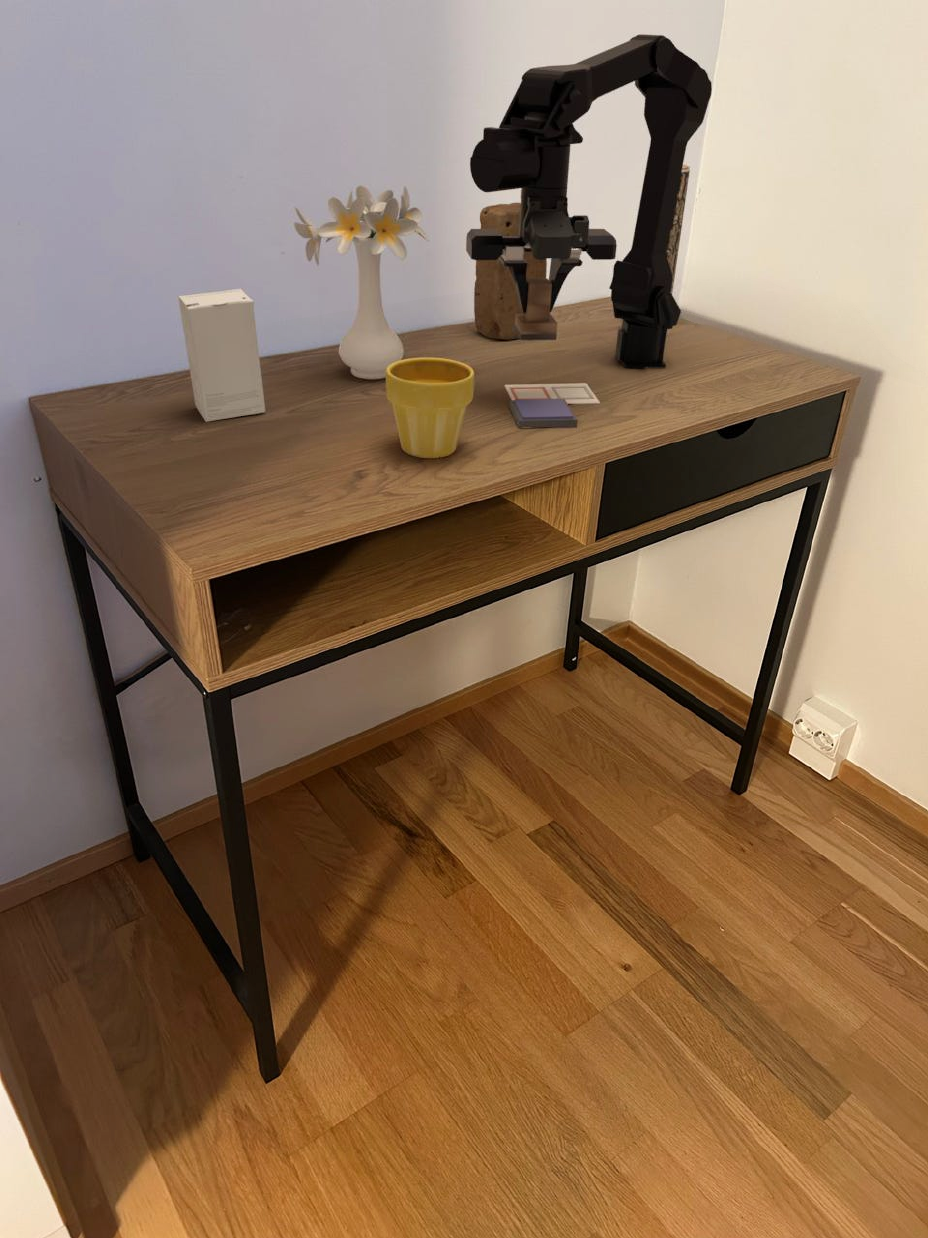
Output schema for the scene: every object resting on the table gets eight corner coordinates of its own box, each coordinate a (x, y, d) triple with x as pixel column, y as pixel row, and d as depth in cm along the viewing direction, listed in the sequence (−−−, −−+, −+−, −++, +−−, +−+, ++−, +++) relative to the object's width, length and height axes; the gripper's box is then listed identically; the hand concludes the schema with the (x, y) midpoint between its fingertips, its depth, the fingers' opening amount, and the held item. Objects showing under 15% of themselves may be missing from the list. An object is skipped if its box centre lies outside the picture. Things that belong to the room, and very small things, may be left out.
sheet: (586, 384, 137) (586, 382, 137) (599, 403, 130) (600, 401, 130) (504, 385, 136) (504, 383, 135) (514, 405, 129) (514, 403, 129)
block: (492, 343, 153) (497, 210, 142) (468, 331, 158) (472, 202, 147) (547, 335, 158) (557, 206, 147) (523, 324, 163) (530, 198, 152)
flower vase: (291, 373, 138) (278, 186, 124) (397, 352, 147) (395, 177, 134) (338, 399, 129) (328, 201, 116) (446, 375, 139) (449, 190, 125)
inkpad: (564, 406, 129) (564, 397, 128) (576, 426, 123) (577, 417, 122) (509, 407, 128) (509, 398, 128) (519, 428, 122) (519, 418, 121)
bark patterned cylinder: (628, 326, 164) (647, 167, 150) (629, 315, 169) (647, 161, 156) (668, 328, 163) (690, 169, 149) (667, 318, 168) (689, 163, 155)
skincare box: (254, 400, 128) (243, 286, 120) (267, 414, 124) (256, 298, 116) (192, 408, 125) (176, 292, 117) (202, 423, 120) (187, 304, 112)
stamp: (548, 329, 130) (552, 276, 127) (556, 339, 126) (560, 285, 123) (514, 329, 130) (517, 276, 126) (520, 340, 126) (523, 285, 122)
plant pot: (454, 428, 121) (456, 352, 116) (484, 459, 113) (487, 379, 108) (376, 437, 118) (375, 359, 113) (401, 469, 110) (400, 387, 105)
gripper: (479, 195, 110) (475, 330, 119) (635, 196, 112) (620, 328, 121) (467, 180, 119) (464, 306, 128) (610, 181, 122) (598, 305, 130)
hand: (536, 312), depth 126 cm, fingers closed on stamp, 3 cm apart
